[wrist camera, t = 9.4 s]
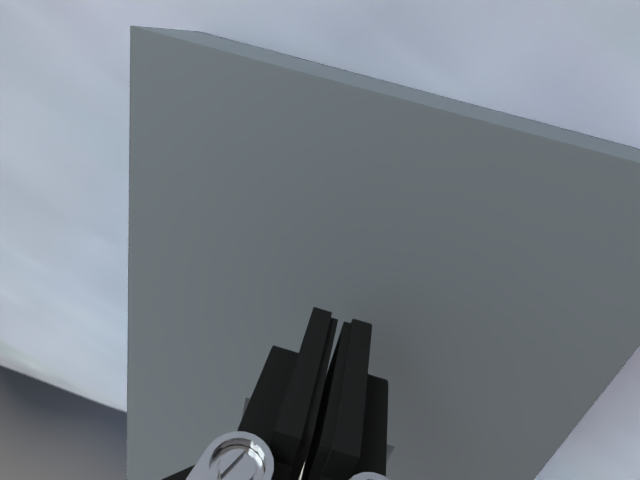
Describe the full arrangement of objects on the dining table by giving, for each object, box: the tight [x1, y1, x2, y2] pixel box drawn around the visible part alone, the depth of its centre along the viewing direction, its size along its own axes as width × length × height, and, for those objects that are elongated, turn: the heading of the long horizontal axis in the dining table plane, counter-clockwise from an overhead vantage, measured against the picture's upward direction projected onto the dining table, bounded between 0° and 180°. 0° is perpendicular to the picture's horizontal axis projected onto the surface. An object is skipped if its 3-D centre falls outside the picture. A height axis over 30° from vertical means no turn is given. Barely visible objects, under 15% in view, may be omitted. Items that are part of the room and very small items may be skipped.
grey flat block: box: [126, 26, 640, 480], centre depth 17 cm, size 22×16×4 cm
